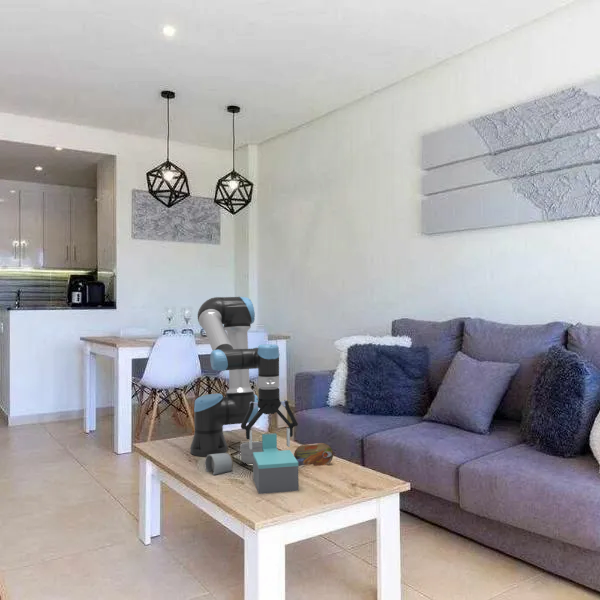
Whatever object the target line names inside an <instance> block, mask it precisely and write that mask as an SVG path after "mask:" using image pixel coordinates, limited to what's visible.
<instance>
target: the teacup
mask: <svg viewBox="0 0 600 600" xmlns="http://www.w3.org/2000/svg"><path fill="white" fill-rule="evenodd" d="M253 452H263V451H262V440H261V441H253V440H252V449H250V448H249V441H248V442H243V443H241V444H240V458H241V459H240V460H241V461H242V462H243V464H245V463H246V464H253ZM246 464H245V465H246Z"/></svg>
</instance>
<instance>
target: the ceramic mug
mask: <svg viewBox="0 0 600 600" xmlns="http://www.w3.org/2000/svg"><path fill="white" fill-rule="evenodd" d="M233 466H234V461H233V457H232V455H231V454H230V453H227V452H226V453H219V454H209V455H208V456H205V462H204V467H205V472H207V473H208V472H212V471H213V473H212V476H216V475H220V474H225V473H229V472H232V470H233V468H234V467H233Z"/></svg>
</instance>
